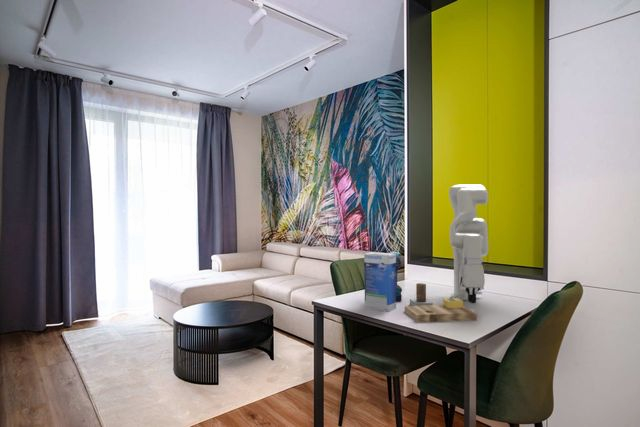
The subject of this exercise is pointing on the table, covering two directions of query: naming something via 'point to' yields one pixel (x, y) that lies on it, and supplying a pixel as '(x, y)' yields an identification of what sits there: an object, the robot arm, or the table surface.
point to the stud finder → (453, 303)
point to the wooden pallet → (439, 313)
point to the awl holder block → (415, 303)
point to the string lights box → (380, 281)
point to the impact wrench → (398, 264)
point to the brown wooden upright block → (420, 292)
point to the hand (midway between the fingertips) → (472, 302)
